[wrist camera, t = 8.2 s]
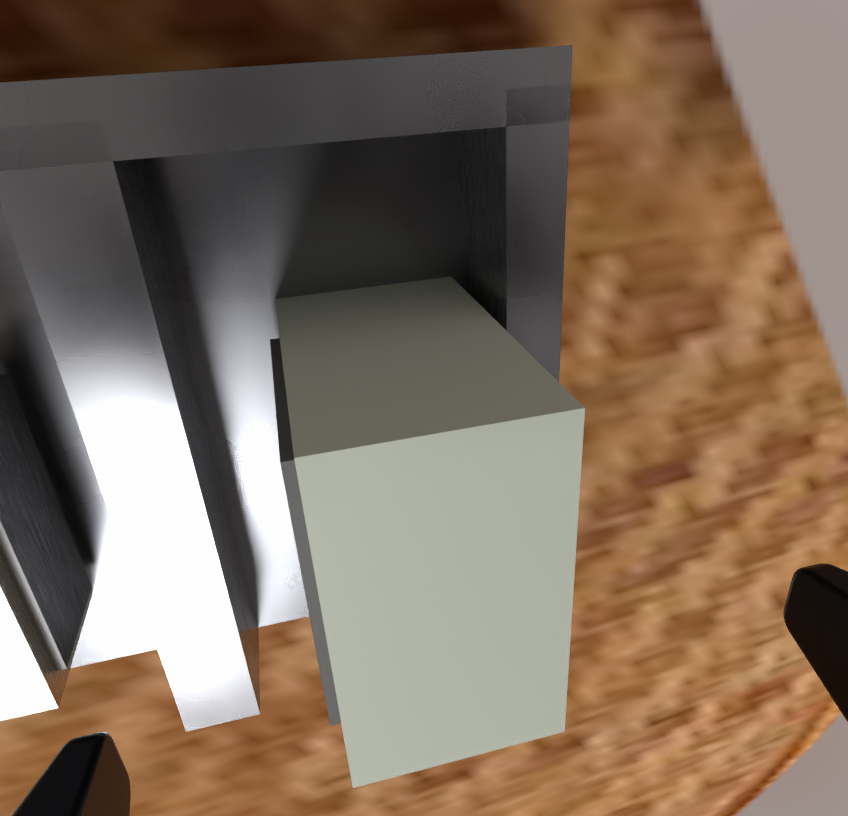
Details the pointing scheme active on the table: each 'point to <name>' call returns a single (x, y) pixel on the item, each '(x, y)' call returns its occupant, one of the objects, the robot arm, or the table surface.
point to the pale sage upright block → (428, 520)
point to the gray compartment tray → (226, 325)
